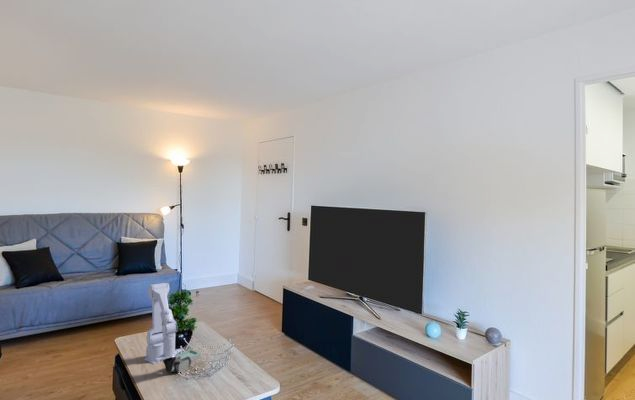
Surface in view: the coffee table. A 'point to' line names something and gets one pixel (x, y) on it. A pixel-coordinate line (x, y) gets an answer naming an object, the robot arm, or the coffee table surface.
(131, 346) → the coffee table surface
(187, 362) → the socket
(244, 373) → the coffee table surface
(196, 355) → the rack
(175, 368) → the drill
